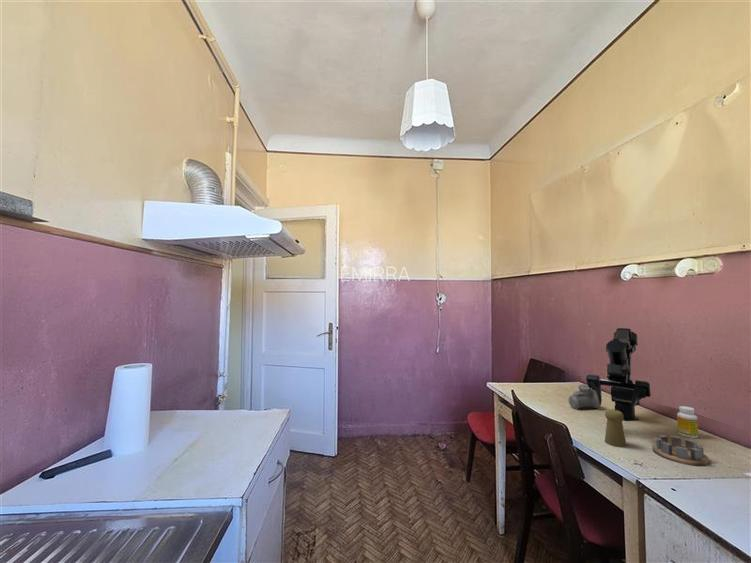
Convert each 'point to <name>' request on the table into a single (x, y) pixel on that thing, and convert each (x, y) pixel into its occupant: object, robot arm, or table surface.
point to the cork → (615, 429)
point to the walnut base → (679, 460)
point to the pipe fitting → (584, 398)
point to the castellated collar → (681, 452)
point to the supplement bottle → (687, 422)
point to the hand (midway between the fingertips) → (615, 405)
